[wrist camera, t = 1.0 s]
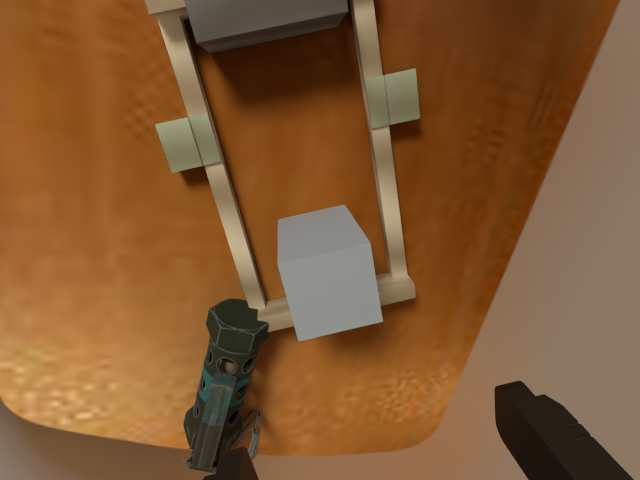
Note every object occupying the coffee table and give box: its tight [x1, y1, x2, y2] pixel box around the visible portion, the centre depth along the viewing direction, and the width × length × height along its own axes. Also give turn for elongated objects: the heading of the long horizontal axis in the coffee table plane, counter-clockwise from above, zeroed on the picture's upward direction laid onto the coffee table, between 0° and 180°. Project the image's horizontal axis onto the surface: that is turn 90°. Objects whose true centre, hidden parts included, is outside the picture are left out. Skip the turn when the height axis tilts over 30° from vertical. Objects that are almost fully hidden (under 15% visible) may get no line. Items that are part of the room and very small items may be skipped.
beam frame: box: [145, 0, 420, 332], centre depth 23 cm, size 22×16×4 cm
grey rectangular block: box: [278, 205, 383, 342], centre depth 24 cm, size 5×5×8 cm
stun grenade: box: [183, 299, 270, 473], centre depth 28 cm, size 6×6×14 cm
